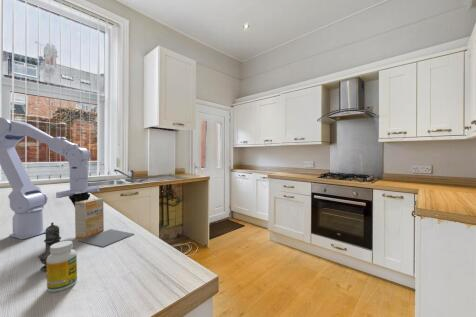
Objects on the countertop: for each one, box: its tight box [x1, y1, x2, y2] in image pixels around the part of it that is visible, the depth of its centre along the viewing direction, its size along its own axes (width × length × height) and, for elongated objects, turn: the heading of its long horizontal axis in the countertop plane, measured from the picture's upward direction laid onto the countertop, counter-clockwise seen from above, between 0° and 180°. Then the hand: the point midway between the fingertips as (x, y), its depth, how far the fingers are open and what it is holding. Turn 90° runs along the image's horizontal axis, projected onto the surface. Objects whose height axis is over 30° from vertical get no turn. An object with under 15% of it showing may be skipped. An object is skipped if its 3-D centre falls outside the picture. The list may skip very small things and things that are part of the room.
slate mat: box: [77, 228, 135, 248], centre depth 77 cm, size 13×12×1 cm
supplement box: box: [74, 197, 105, 239], centre depth 81 cm, size 8×5×13 cm, turn 168°
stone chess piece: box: [37, 222, 62, 273], centre depth 57 cm, size 6×6×12 cm
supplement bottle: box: [46, 240, 78, 293], centre depth 49 cm, size 5×5×10 cm
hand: (79, 212), depth 83 cm, fingers closed
